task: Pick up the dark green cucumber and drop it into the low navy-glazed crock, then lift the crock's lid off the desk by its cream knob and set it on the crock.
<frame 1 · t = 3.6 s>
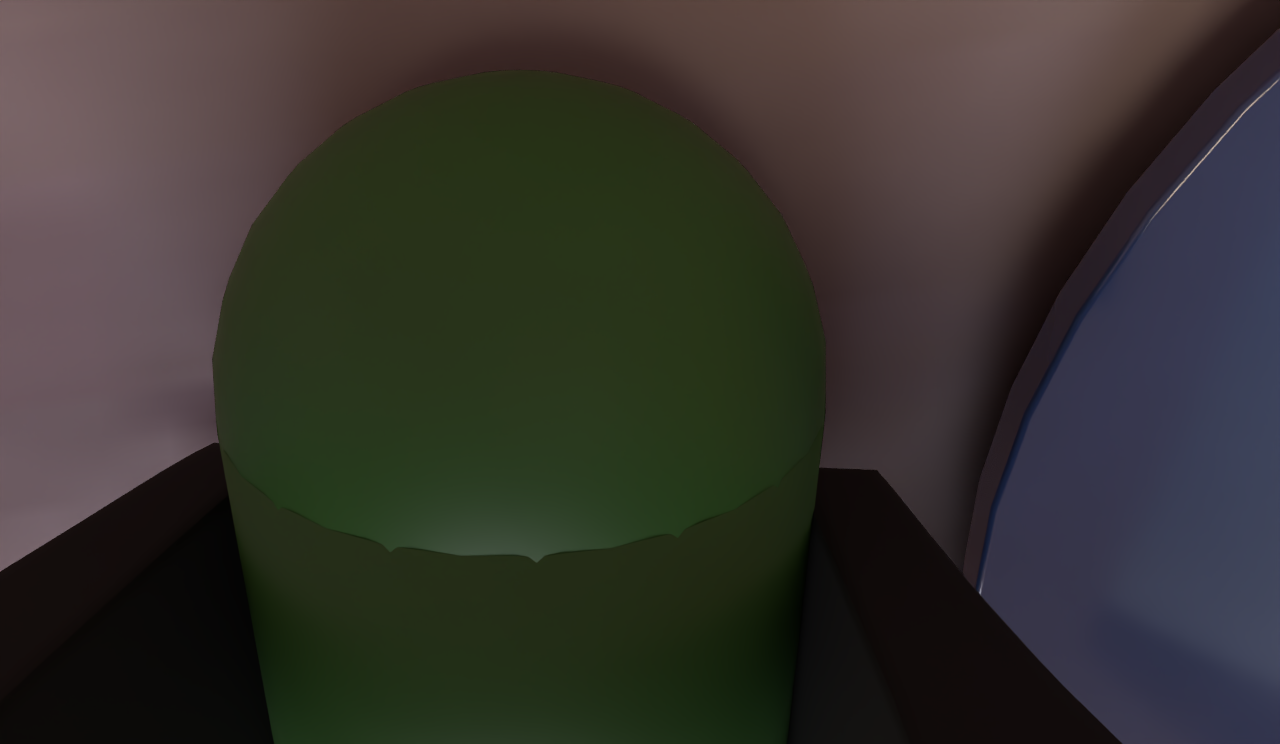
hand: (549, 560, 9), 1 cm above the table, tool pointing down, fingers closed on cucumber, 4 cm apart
cucumber: (571, 466, 10), on the table, touching gripper
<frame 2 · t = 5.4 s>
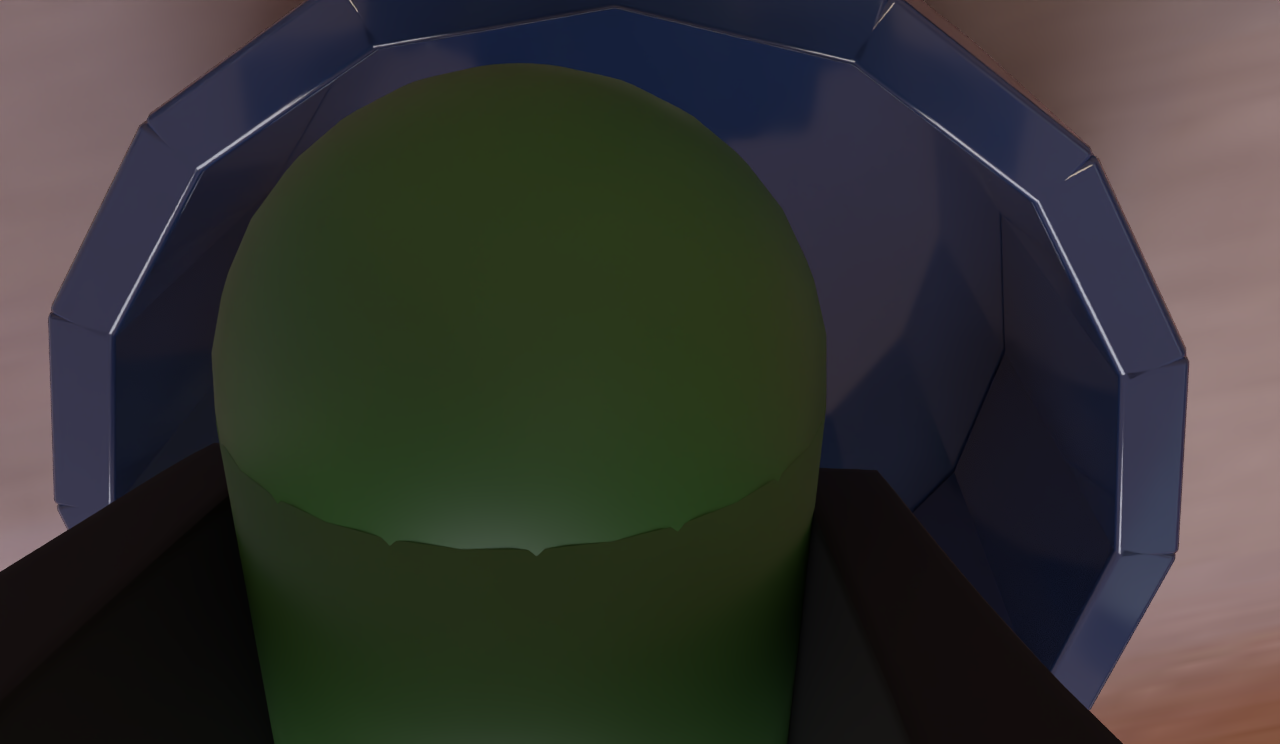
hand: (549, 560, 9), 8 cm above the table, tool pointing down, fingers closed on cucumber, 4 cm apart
crock: (632, 321, 17), on the table
cucumber: (572, 462, 10), point 7 cm above the table, touching gripper
when the fingers open (2 cm above the table, at t = 7.7 s): cucumber stays where it is, resting on crock.
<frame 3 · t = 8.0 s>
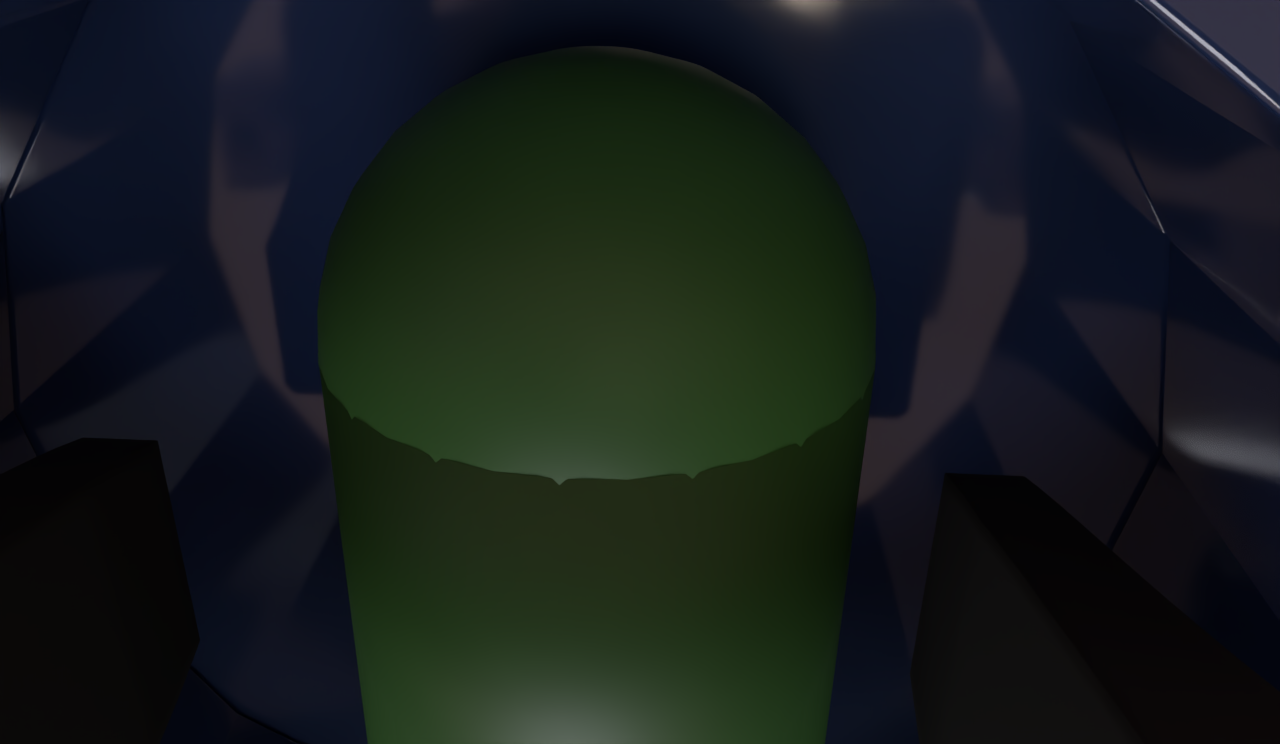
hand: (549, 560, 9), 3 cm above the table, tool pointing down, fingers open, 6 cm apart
crock: (582, 402, 11), on the table
cucumber: (582, 426, 11), point 1 cm above the table, tilted 9°, touching crock
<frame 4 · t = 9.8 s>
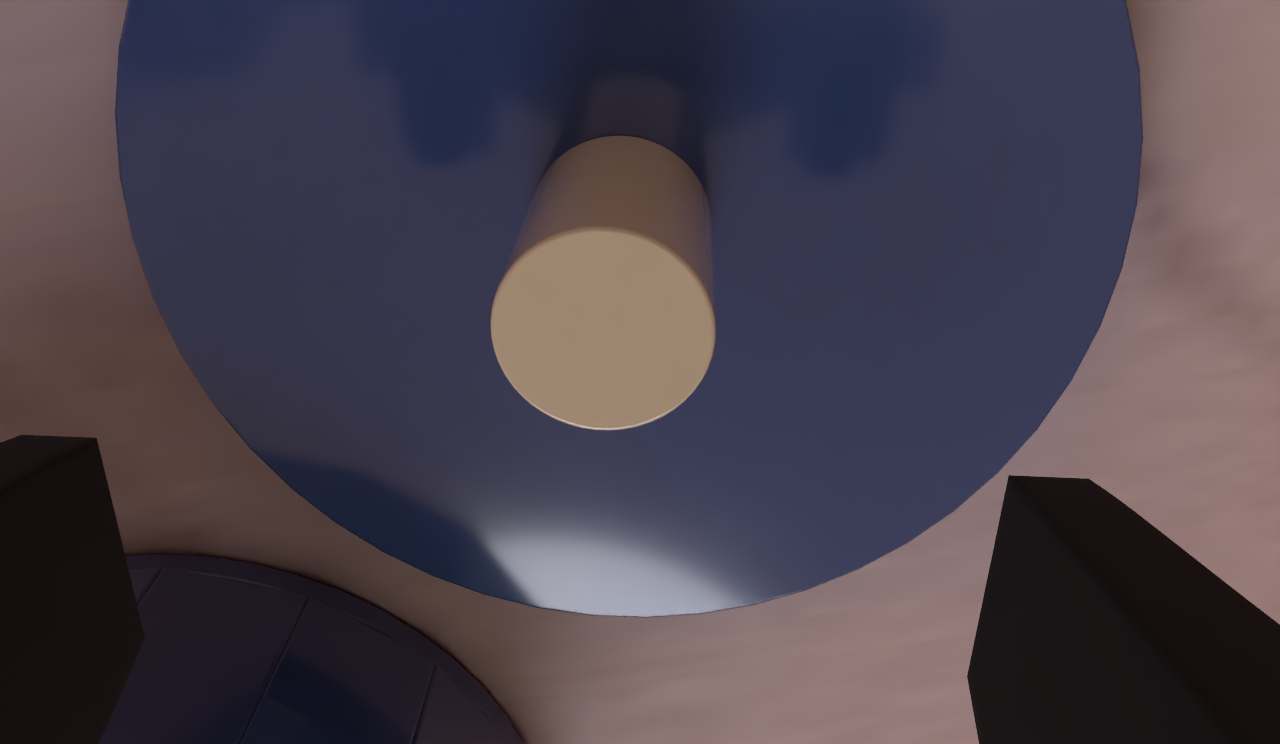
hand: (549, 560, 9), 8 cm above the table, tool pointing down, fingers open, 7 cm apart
crock lid: (622, 210, 15), point 1 cm above the table
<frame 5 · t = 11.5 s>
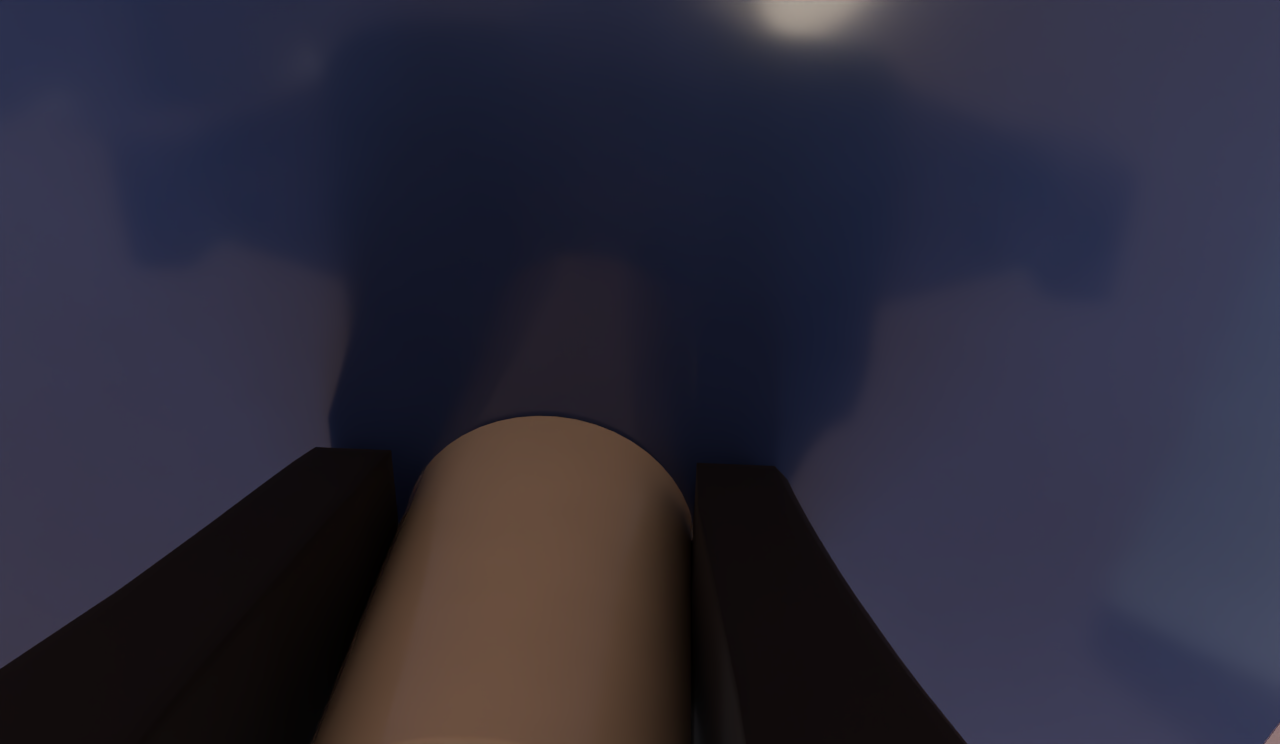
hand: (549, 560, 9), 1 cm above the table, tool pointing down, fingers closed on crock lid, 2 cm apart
crock lid: (557, 503, 10), point 1 cm above the table, touching gripper
when the fingers open (6 cm above the table, at t = 15.0 s): crock lid stays where it is, resting on crock.
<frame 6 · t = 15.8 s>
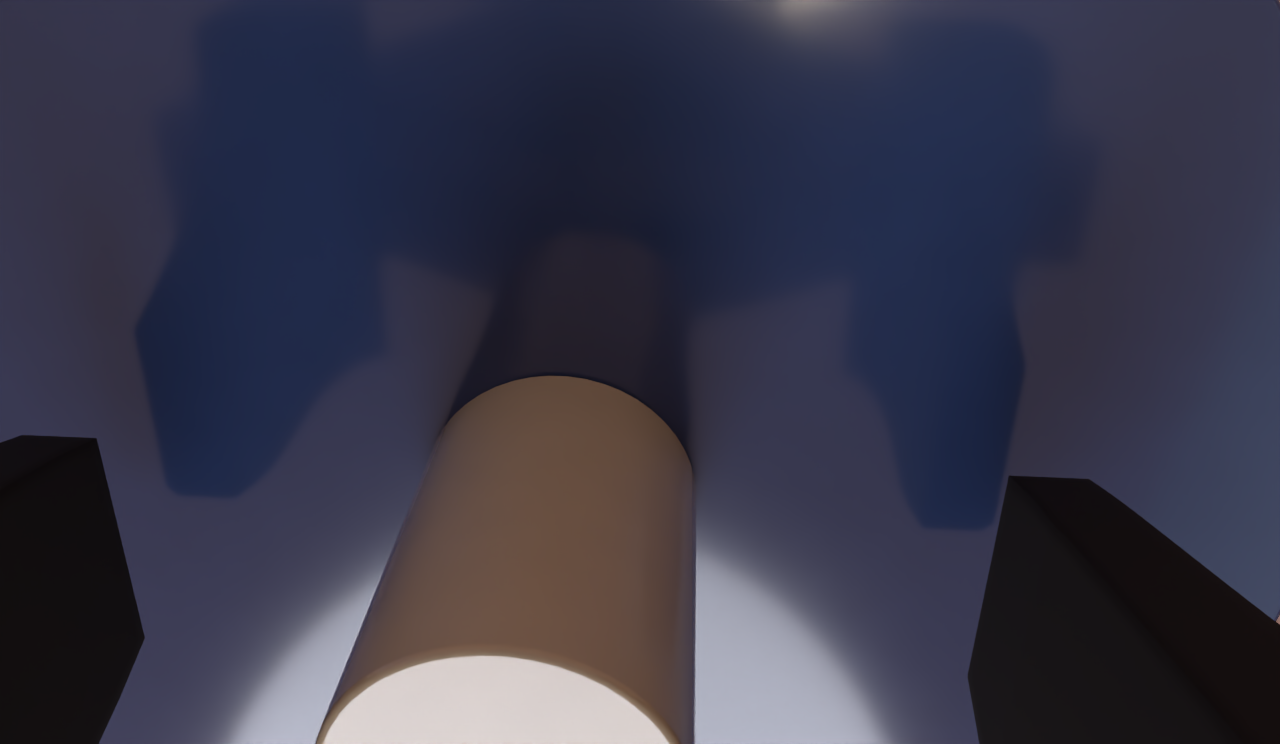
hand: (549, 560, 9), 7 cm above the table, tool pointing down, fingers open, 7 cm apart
crock lid: (567, 462, 10), point 5 cm above the table, touching crock
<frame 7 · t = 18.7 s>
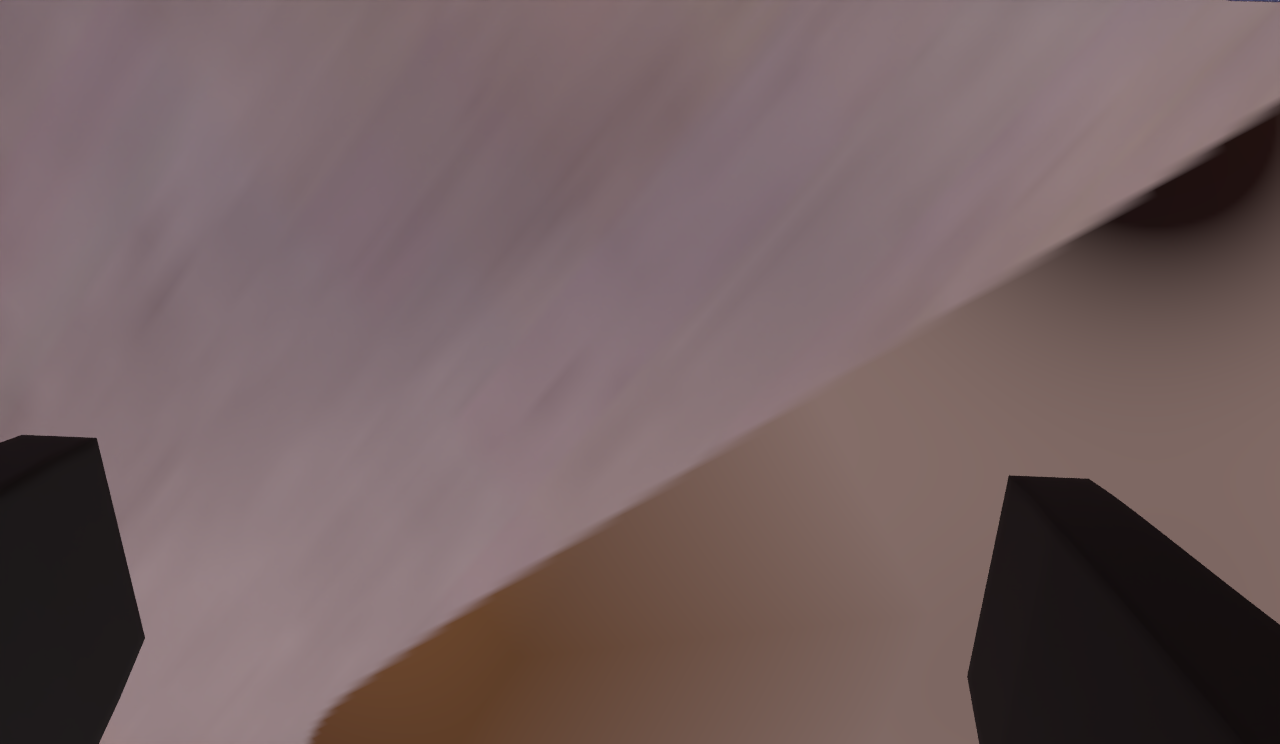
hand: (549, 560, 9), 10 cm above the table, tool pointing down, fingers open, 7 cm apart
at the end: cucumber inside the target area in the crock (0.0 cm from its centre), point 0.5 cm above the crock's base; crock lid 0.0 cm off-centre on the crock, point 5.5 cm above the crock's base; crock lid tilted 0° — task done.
